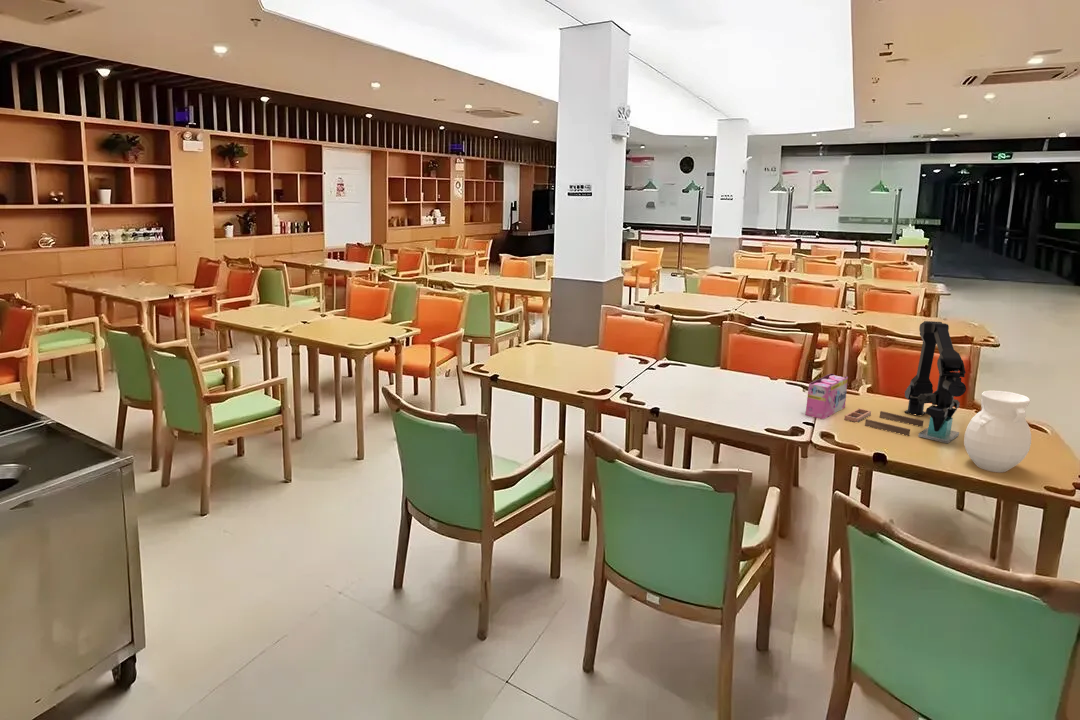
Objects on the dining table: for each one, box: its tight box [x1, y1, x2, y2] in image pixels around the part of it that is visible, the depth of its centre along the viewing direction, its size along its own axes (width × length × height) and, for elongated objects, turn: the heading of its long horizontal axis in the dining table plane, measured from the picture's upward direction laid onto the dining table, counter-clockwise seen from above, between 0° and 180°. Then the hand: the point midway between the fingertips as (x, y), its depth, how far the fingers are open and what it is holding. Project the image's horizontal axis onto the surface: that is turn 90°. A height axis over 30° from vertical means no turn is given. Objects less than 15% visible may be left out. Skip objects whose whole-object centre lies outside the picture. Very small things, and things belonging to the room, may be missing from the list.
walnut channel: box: [864, 410, 924, 437], centre depth 273 cm, size 16×16×2 cm
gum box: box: [804, 373, 849, 420], centre depth 290 cm, size 24×8×14 cm, turn 136°
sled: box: [917, 416, 960, 444], centre depth 262 cm, size 13×10×7 cm
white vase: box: [963, 389, 1032, 473], centre depth 231 cm, size 19×18×25 cm
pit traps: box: [844, 408, 872, 423], centre depth 283 cm, size 14×5×2 cm, turn 135°
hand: (939, 428), depth 262 cm, fingers open, 8 cm apart
